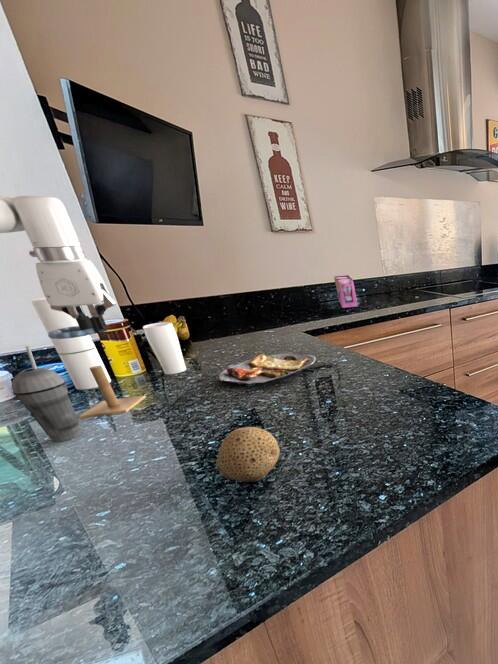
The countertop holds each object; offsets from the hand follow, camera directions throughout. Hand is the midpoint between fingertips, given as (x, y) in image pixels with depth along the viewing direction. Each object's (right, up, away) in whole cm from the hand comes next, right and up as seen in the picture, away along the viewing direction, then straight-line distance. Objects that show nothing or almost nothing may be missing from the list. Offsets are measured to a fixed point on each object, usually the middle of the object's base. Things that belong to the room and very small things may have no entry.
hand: (95, 332), depth 98 cm
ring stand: (+6, -19, -1) cm, 20 cm away
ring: (-4, 0, -1) cm, 4 cm away
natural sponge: (+60, -30, -30) cm, 73 cm away
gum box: (+15, +31, +115) cm, 120 cm away
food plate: (+32, -10, +19) cm, 38 cm away
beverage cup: (+8, -24, -13) cm, 29 cm away
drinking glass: (+2, -10, +21) cm, 24 cm away
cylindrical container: (-14, -14, +13) cm, 24 cm away
